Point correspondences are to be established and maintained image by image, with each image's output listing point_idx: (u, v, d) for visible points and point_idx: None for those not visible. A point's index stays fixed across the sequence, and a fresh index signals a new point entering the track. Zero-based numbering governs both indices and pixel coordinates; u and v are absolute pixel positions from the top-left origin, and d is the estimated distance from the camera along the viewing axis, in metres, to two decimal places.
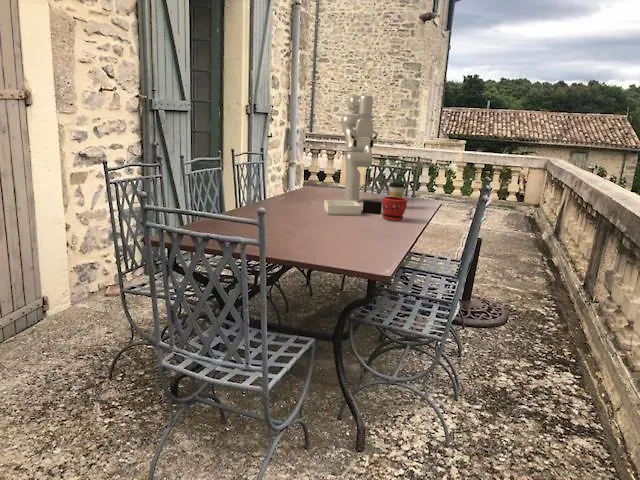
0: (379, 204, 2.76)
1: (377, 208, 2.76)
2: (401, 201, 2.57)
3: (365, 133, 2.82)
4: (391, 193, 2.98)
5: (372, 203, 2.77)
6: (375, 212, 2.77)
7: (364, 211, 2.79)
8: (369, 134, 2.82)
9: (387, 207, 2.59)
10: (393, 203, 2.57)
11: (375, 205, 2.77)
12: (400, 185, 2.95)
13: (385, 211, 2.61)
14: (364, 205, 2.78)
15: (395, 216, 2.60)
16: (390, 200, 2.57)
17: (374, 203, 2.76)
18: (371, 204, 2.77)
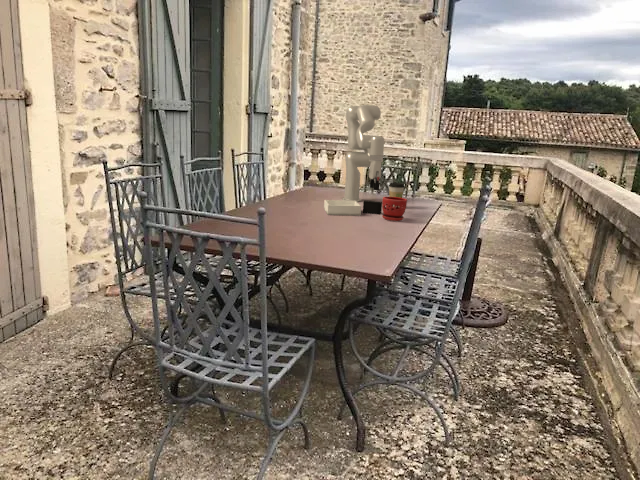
0: (379, 204, 2.75)
1: (378, 208, 2.76)
2: (401, 201, 2.57)
3: None
4: (391, 193, 2.98)
5: (373, 203, 2.76)
6: (375, 212, 2.77)
7: (364, 211, 2.79)
8: None
9: (387, 207, 2.59)
10: (393, 203, 2.57)
11: (376, 206, 2.76)
12: (400, 185, 2.95)
13: (385, 211, 2.61)
14: (364, 205, 2.78)
15: (395, 216, 2.60)
16: (390, 200, 2.57)
17: (374, 203, 2.76)
18: (371, 204, 2.77)
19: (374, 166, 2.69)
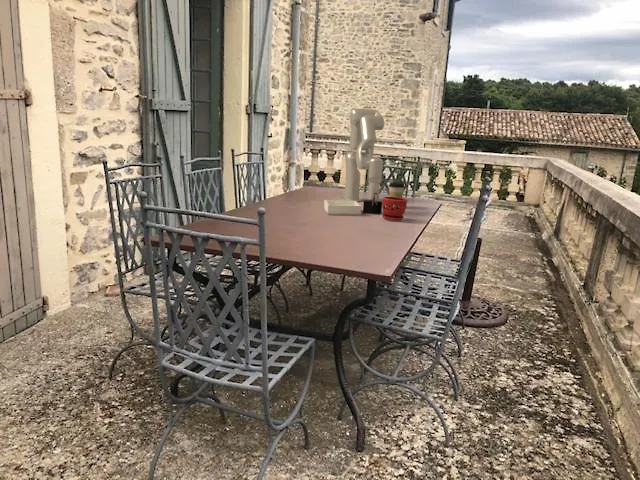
0: (380, 204, 2.76)
1: (378, 208, 2.76)
2: (401, 201, 2.57)
3: None
4: (391, 193, 2.98)
5: None
6: (376, 212, 2.77)
7: (364, 211, 2.78)
8: None
9: (387, 207, 2.59)
10: (393, 203, 2.57)
11: None
12: (400, 185, 2.95)
13: (385, 211, 2.61)
14: (364, 205, 2.78)
15: (395, 216, 2.60)
16: (390, 200, 2.57)
17: None
18: (371, 204, 2.77)
19: (372, 188, 2.72)
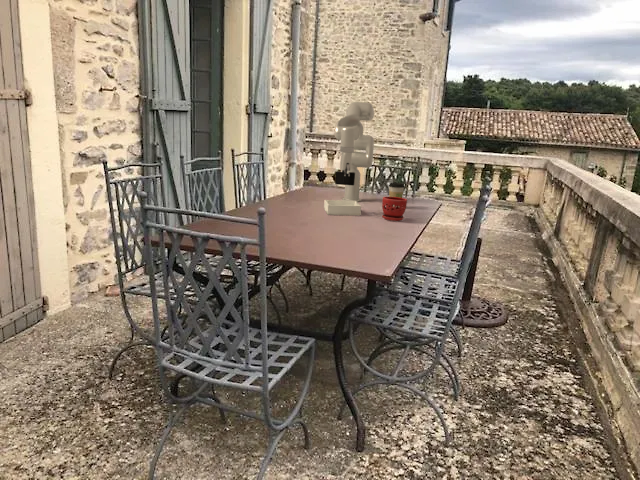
0: (352, 175, 2.69)
1: (350, 179, 2.69)
2: (401, 201, 2.57)
3: None
4: (391, 193, 2.98)
5: None
6: (348, 183, 2.70)
7: (337, 182, 2.71)
8: None
9: (387, 207, 2.59)
10: (393, 203, 2.57)
11: None
12: (400, 185, 2.95)
13: (385, 211, 2.61)
14: (337, 176, 2.71)
15: (395, 216, 2.60)
16: (390, 200, 2.57)
17: None
18: None
19: (344, 158, 2.65)
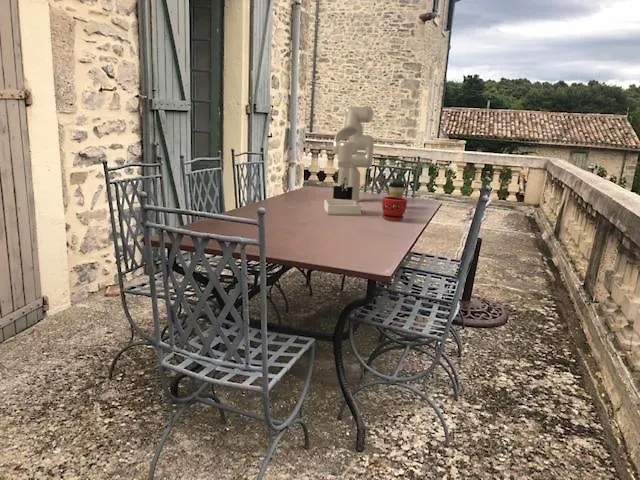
0: (350, 189, 2.70)
1: (348, 193, 2.71)
2: (401, 201, 2.57)
3: None
4: (391, 193, 2.98)
5: None
6: (346, 198, 2.72)
7: (335, 197, 2.73)
8: None
9: (387, 207, 2.59)
10: (393, 203, 2.57)
11: None
12: (400, 185, 2.95)
13: (385, 211, 2.61)
14: (334, 190, 2.73)
15: (395, 216, 2.60)
16: (390, 200, 2.57)
17: None
18: None
19: (342, 173, 2.67)
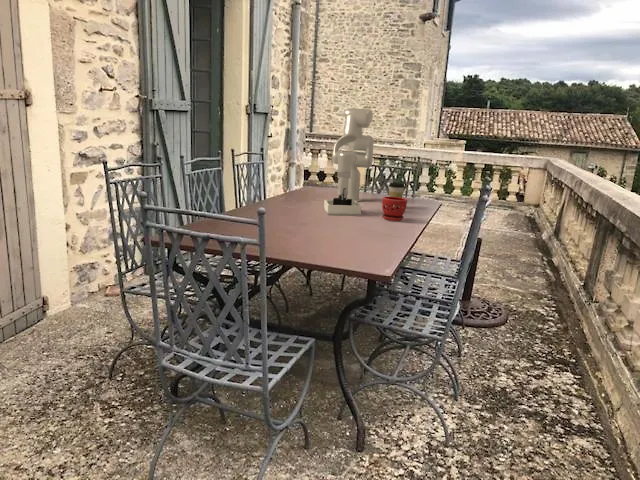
0: (349, 201, 2.73)
1: None
2: (401, 201, 2.57)
3: None
4: (391, 193, 2.98)
5: None
6: None
7: None
8: None
9: (387, 207, 2.59)
10: (393, 203, 2.57)
11: None
12: (400, 185, 2.95)
13: (385, 211, 2.61)
14: (334, 203, 2.74)
15: (395, 216, 2.60)
16: (390, 200, 2.57)
17: None
18: None
19: (341, 183, 2.69)
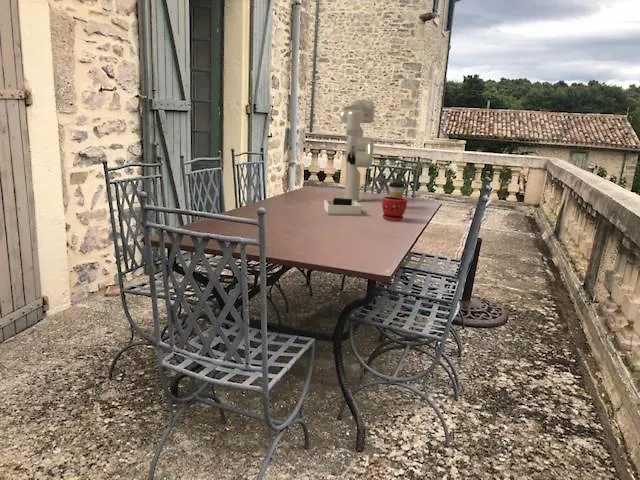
0: (349, 201, 2.73)
1: None
2: (401, 201, 2.57)
3: None
4: (391, 193, 2.98)
5: (343, 201, 2.73)
6: None
7: None
8: None
9: (387, 207, 2.59)
10: (393, 203, 2.57)
11: (346, 203, 2.73)
12: (400, 185, 2.95)
13: (385, 211, 2.61)
14: (334, 203, 2.74)
15: (395, 216, 2.60)
16: (390, 200, 2.57)
17: (344, 201, 2.73)
18: (341, 202, 2.73)
19: (350, 141, 2.73)
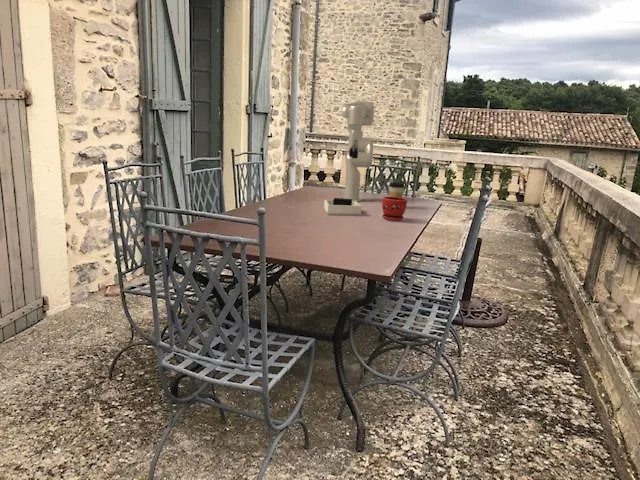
0: (349, 201, 2.73)
1: None
2: (401, 201, 2.57)
3: None
4: (391, 193, 2.98)
5: (343, 201, 2.73)
6: None
7: None
8: None
9: (387, 207, 2.59)
10: (393, 203, 2.57)
11: (346, 203, 2.73)
12: (400, 185, 2.95)
13: (385, 211, 2.61)
14: (334, 203, 2.74)
15: (395, 216, 2.60)
16: (390, 200, 2.57)
17: (344, 201, 2.73)
18: (341, 202, 2.73)
19: (352, 135, 2.75)
